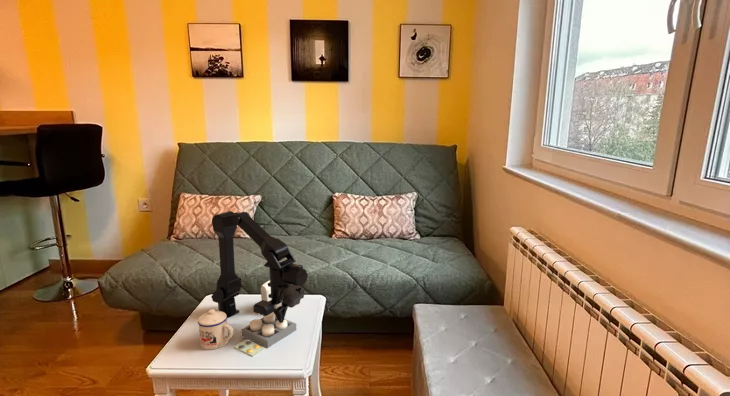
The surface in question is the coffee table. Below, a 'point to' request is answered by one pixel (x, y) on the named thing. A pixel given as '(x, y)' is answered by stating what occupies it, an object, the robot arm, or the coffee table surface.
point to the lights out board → (263, 338)
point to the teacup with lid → (214, 329)
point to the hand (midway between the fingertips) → (281, 322)
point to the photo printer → (265, 291)
